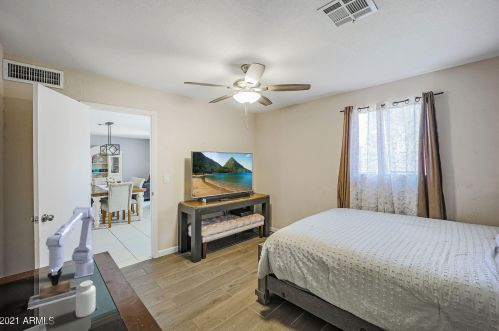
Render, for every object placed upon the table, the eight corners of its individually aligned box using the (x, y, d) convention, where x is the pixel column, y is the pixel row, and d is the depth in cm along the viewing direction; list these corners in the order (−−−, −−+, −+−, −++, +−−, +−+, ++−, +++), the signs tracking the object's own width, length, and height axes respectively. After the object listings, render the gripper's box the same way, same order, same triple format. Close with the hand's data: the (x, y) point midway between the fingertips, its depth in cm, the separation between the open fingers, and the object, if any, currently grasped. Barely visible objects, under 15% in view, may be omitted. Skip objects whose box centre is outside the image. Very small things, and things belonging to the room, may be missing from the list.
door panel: (70, 291, 119) (70, 279, 118) (69, 294, 117) (69, 282, 116) (40, 299, 111) (40, 286, 111) (39, 302, 109) (39, 289, 109)
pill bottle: (82, 306, 110) (83, 278, 109) (98, 306, 110) (99, 278, 110) (71, 318, 102) (71, 288, 101) (88, 317, 103) (89, 288, 102)
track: (79, 287, 123) (79, 283, 123) (79, 295, 117) (79, 290, 117) (31, 300, 111) (31, 295, 111) (27, 310, 105) (27, 304, 105)
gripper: (48, 253, 116) (47, 276, 117) (43, 265, 105) (43, 291, 105) (65, 250, 120) (64, 273, 121) (62, 261, 109) (62, 286, 110)
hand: (55, 281), depth 114 cm, fingers open, 7 cm apart
